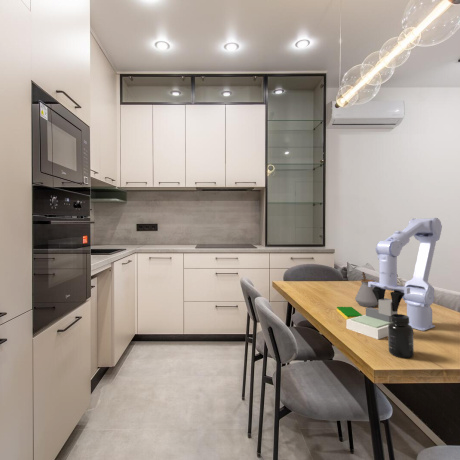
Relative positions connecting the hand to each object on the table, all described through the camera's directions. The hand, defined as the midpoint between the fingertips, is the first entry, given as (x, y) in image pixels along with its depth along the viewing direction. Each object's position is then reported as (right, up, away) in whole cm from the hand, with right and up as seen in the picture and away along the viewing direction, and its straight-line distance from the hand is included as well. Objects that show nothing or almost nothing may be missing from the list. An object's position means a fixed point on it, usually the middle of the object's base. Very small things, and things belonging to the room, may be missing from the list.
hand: (388, 309), depth 105 cm
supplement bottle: (-5, -10, -16) cm, 19 cm away
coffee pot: (+13, -9, +45) cm, 48 cm away
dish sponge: (-4, -10, +24) cm, 26 cm away
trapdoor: (-3, -6, +5) cm, 9 cm away
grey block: (0, -2, 0) cm, 2 cm away
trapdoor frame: (-3, -10, +5) cm, 11 cm away
